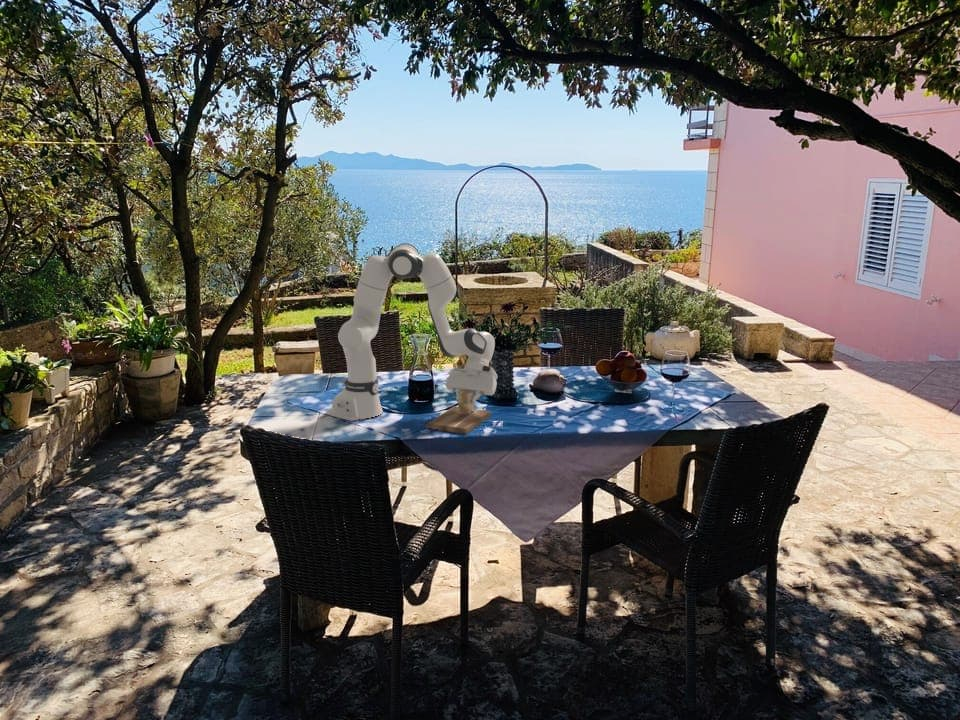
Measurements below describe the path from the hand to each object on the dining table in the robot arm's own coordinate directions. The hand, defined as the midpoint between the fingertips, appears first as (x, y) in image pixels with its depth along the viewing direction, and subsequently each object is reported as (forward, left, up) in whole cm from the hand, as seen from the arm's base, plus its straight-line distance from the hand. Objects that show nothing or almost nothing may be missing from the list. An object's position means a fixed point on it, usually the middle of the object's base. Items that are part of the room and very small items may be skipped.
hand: (465, 401), depth 262 cm
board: (0, -5, -7) cm, 8 cm away
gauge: (0, +1, -5) cm, 5 cm away
